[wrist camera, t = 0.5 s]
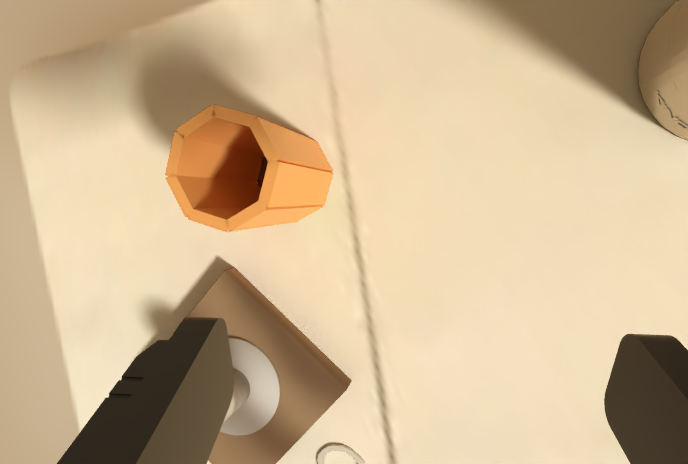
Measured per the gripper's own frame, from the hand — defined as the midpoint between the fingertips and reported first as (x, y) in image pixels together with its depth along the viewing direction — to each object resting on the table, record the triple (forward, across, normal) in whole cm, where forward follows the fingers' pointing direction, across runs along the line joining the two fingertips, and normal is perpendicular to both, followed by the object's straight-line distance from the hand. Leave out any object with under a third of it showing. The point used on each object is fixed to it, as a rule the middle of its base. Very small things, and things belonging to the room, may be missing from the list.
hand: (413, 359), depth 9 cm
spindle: (+18, +11, +18) cm, 28 cm away
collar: (+23, +7, +4) cm, 25 cm away
